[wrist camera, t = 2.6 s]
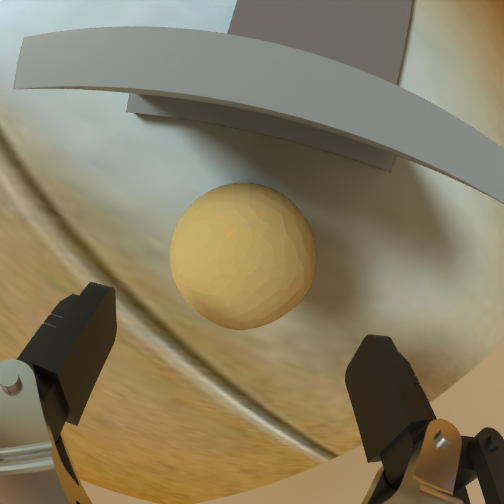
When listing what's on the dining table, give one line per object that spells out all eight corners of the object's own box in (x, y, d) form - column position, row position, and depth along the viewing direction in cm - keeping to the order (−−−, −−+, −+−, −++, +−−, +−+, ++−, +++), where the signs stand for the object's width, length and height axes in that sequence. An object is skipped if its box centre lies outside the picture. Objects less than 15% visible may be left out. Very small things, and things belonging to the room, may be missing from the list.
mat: (262, -71, 11) (262, -73, 10) (412, -20, 12) (415, -22, 11) (222, 54, 15) (222, 53, 15) (389, 103, 16) (391, 103, 16)
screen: (144, 53, 15) (23, 4, 4) (399, 115, 17) (539, 142, 6) (131, 111, 17) (-2, 129, 6) (384, 169, 18) (508, 243, 8)
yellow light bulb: (311, 217, 20) (358, 305, 11) (236, 268, 22) (229, 376, 13) (254, 139, 18) (260, 167, 9) (176, 200, 19) (120, 278, 10)
